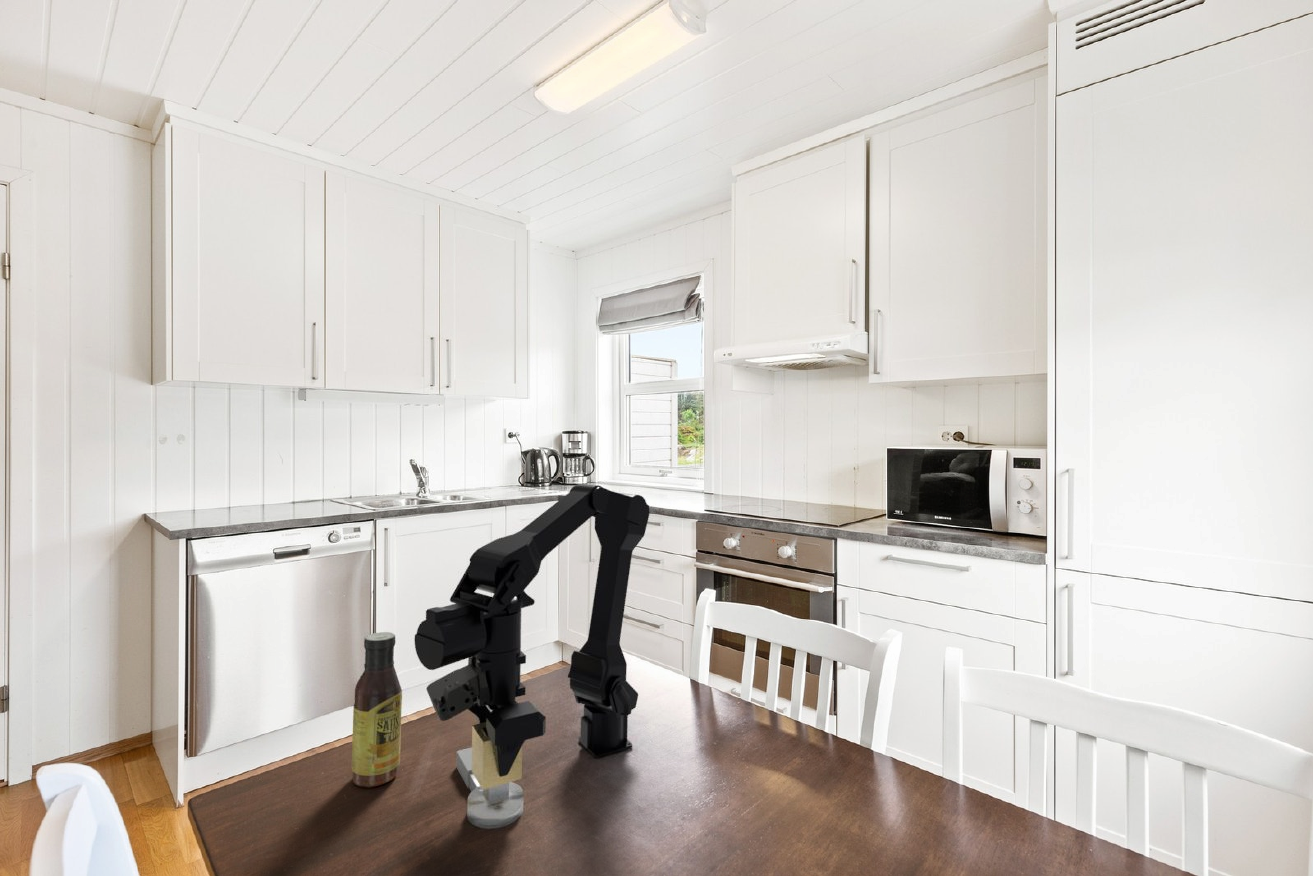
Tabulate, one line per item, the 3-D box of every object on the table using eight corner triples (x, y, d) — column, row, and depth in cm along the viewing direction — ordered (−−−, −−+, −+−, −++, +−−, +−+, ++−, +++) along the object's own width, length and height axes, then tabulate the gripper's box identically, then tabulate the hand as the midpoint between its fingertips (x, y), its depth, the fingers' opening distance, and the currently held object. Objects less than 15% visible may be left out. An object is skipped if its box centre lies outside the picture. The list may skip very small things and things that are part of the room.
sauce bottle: (381, 793, 85) (383, 646, 84) (341, 786, 86) (342, 642, 85) (410, 767, 91) (411, 631, 91) (371, 761, 92) (373, 627, 92)
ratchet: (531, 817, 80) (531, 775, 80) (476, 835, 76) (476, 791, 76) (491, 758, 94) (492, 721, 94) (443, 771, 90) (444, 733, 90)
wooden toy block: (508, 760, 85) (509, 716, 84) (521, 778, 80) (522, 732, 80) (471, 770, 82) (472, 725, 82) (482, 790, 78) (483, 742, 78)
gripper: (417, 634, 84) (416, 749, 85) (452, 684, 69) (450, 825, 69) (499, 622, 90) (497, 729, 91) (548, 665, 74) (546, 795, 75)
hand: (496, 765), depth 81 cm, fingers closed on wooden toy block, 5 cm apart
